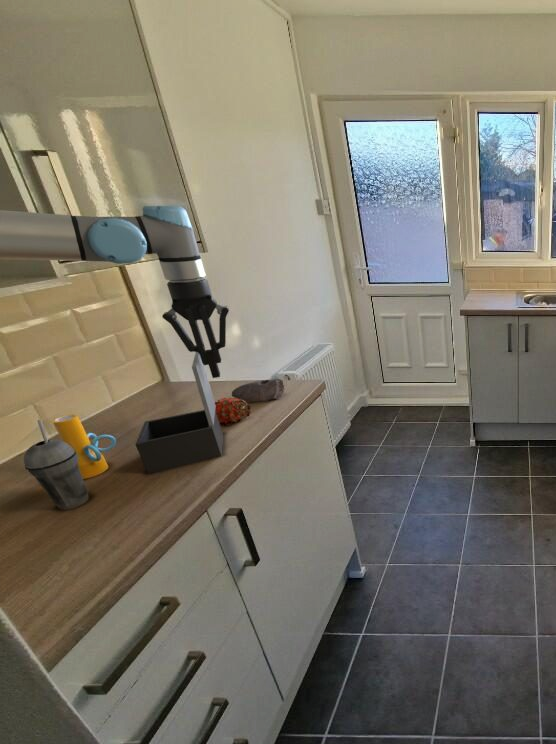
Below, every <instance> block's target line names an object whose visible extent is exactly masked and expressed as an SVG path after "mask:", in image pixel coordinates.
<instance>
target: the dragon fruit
mask: <svg viewBox="0 0 556 744" xmlns="http://www.w3.org/2000/svg"><path fill="white" fill-rule="evenodd" d="M214 402H215V405H216V407H215V411H216V415H217V418H218V421H219V424H221V423H224V424H225V426H230V425H233V423H235V424H236V423H237V422H241V421H243V420H244V419H246V418H247V417H249V416H250V415H251V414H252V412H251V411H250V410H251V406H250V404H249V403H247V402H246V401H244V400H242V399H238V398H235V397H232V396H228V398H227V397H222V398H218V399H217V401H214Z"/></svg>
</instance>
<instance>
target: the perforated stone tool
mask: <svg viewBox="0 0 556 744" xmlns="http://www.w3.org/2000/svg"><path fill="white" fill-rule="evenodd" d="M284 392H285V385H284V381H283V379H281V378H271V379H262V380H257V381H253V382H252V381H251V382H249V383H245V384H242V385H239V386H238V387H236V388H234V389H233V390H232V391H231V397H235V398H238V399H242V400H244V401H246V402H247V404H251V403H261V402H270V401H271V400H278V399H280V398H281V397H282V396H283V394H284Z"/></svg>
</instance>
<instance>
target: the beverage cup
mask: <svg viewBox="0 0 556 744" xmlns="http://www.w3.org/2000/svg"><path fill="white" fill-rule="evenodd" d="M36 421H37V424H38V426H39V430H40V433H41V436H42V439H43V440H40V441H38V442H36V443H34V444H32V445H31V446H30V447H29V448H28V449H27V450H26V452H25V453H24V455H23V464H24V468H25V470H26V471H28V472H29V473H30V475H32V476H33V477H34V478H35V479H36V480H37V482H38V483H39V485H40V486H41V487H42V489H43V490H44V491H45V493H46V494H47V495H48V497H49V498H50V499H51V500H52V502H53V504H54V505H55V507H57V508H58V509H59V510H62V511H63V510H65V511H66V510H71V509H75V508H77V507H79V506H81V505H84V504H85V503H86V502H87V501H88V500H89V499H90V498H89V492H88V489H87V486H86V484H85V481H84V479H83V478H82V475H81V472H80V469H79V467H78V464H77V462H78V461H77V456H76V452H75V450H73V449H72V447H71V446H70V445H68V444H67V443H65V442H62V440H58V439H48V436H47V433H46V430H45V428H44V424H43V422H42V419H37V420H36Z"/></svg>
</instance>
